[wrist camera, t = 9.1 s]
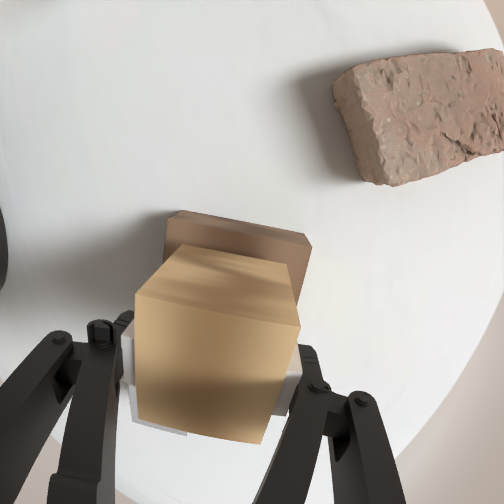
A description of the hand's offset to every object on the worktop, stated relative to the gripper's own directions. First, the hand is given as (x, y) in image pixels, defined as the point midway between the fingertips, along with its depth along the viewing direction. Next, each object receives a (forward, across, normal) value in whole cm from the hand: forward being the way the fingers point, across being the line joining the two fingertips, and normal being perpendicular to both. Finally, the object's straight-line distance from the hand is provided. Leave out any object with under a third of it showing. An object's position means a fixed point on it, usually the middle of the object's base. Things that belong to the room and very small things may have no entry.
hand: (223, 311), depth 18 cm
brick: (+6, +13, +17) cm, 22 cm away
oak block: (0, 0, 0) cm, 0 cm away
